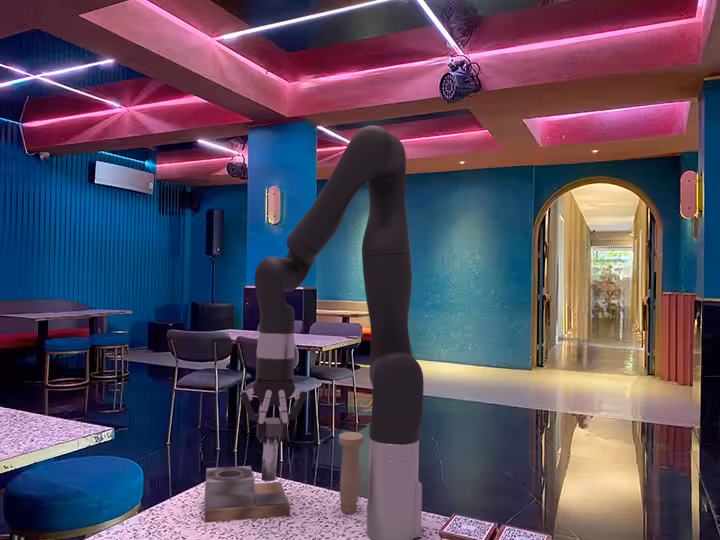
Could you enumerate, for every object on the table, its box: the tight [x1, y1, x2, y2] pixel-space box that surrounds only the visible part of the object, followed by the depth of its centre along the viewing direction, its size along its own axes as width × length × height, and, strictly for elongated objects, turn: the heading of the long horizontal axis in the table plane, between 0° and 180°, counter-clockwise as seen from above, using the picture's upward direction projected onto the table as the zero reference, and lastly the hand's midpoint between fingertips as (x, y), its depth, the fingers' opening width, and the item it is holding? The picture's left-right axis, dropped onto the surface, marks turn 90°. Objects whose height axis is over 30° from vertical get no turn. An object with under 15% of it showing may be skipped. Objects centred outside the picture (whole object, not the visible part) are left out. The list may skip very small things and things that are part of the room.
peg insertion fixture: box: [204, 465, 291, 523], centre depth 113 cm, size 16×14×7 cm
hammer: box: [261, 417, 283, 482], centre depth 111 cm, size 7×3×11 cm, turn 16°
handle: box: [338, 431, 364, 514], centre depth 112 cm, size 5×6×15 cm
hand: (271, 440), depth 111 cm, fingers closed on hammer, 3 cm apart
